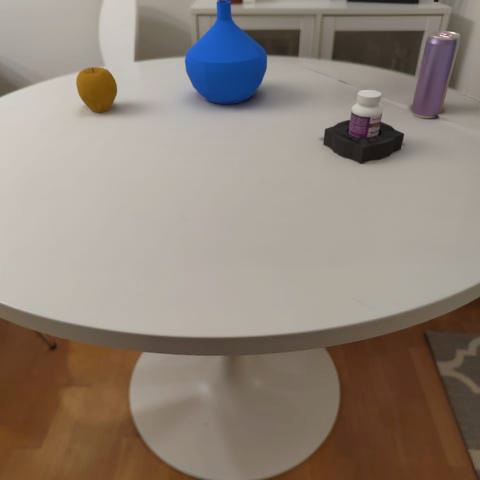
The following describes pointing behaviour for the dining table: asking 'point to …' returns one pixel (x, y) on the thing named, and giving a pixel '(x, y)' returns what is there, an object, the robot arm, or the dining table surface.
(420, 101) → the beverage can
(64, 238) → the dining table surface
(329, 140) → the dock pad
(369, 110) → the pill bottle
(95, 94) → the apple
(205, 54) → the vase
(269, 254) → the dining table surface
